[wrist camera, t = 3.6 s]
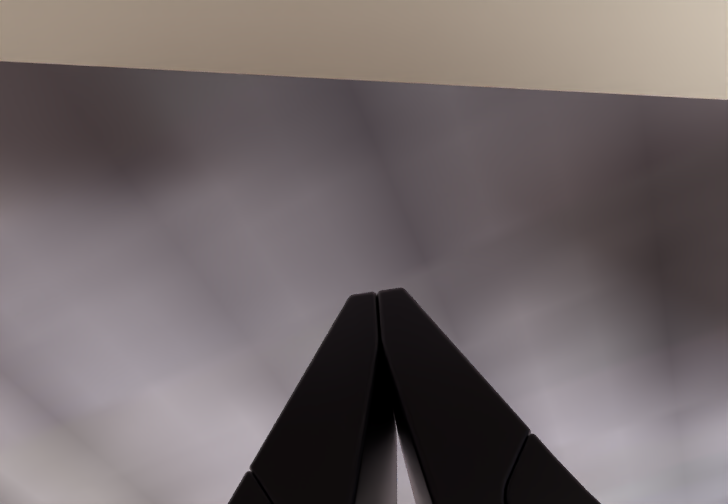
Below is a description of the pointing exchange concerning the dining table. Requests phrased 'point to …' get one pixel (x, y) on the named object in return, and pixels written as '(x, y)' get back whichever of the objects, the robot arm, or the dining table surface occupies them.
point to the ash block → (393, 41)
